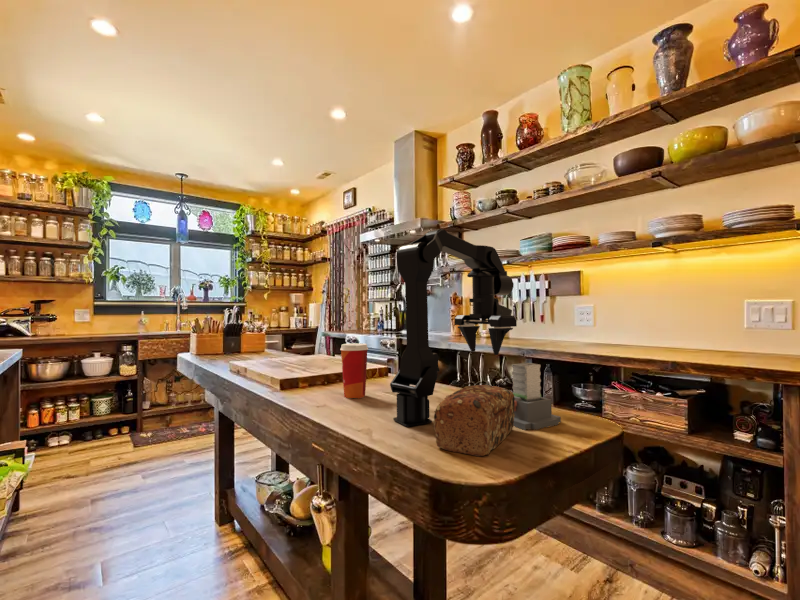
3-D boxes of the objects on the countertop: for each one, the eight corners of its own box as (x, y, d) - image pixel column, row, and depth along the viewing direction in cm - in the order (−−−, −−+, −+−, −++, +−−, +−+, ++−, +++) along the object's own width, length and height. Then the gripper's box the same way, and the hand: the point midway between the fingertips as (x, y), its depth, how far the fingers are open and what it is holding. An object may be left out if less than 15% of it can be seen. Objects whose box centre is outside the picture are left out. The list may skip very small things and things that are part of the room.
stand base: (528, 431, 81) (527, 403, 81) (491, 418, 90) (491, 393, 91) (564, 423, 86) (563, 397, 86) (526, 412, 96) (525, 388, 96)
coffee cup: (353, 392, 121) (353, 342, 121) (374, 395, 116) (374, 343, 117) (333, 397, 114) (333, 344, 115) (355, 401, 109) (354, 346, 110)
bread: (488, 460, 66) (487, 399, 66) (430, 449, 72) (430, 393, 72) (517, 430, 82) (516, 381, 82) (468, 423, 88) (467, 377, 88)
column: (525, 406, 86) (525, 366, 86) (512, 402, 89) (511, 364, 89) (541, 403, 88) (540, 364, 88) (527, 400, 91) (527, 362, 92)
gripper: (531, 293, 103) (533, 354, 102) (483, 296, 119) (484, 348, 119) (499, 293, 97) (500, 357, 97) (453, 295, 114) (453, 350, 113)
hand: (484, 353), depth 107 cm, fingers open, 9 cm apart
